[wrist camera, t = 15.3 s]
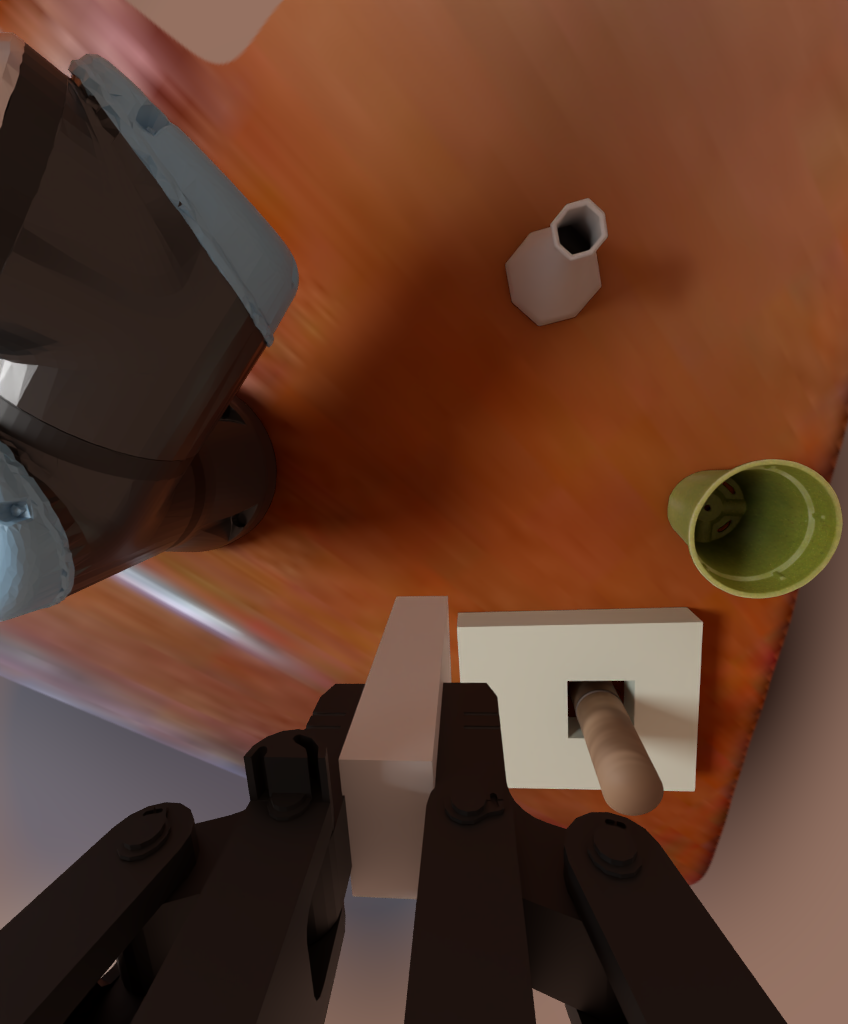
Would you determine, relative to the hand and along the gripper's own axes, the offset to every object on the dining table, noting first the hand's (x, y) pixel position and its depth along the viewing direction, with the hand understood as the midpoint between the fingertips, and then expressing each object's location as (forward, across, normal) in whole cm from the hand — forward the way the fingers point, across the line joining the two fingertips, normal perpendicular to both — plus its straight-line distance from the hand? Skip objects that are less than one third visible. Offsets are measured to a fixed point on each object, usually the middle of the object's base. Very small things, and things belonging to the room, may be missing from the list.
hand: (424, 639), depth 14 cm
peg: (+28, +12, -20) cm, 36 cm away
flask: (+29, +8, +16) cm, 34 cm away
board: (+28, +10, -20) cm, 36 cm away
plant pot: (+28, +21, -3) cm, 35 cm away
